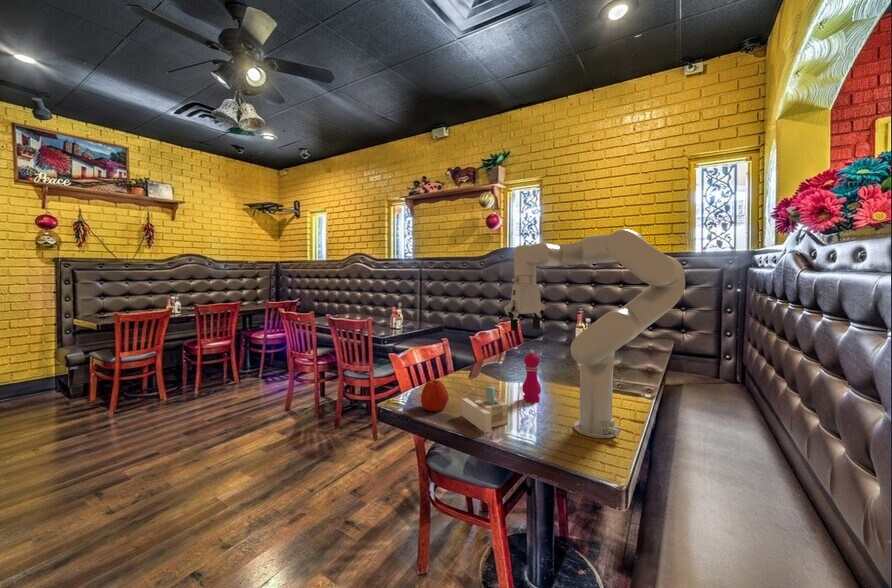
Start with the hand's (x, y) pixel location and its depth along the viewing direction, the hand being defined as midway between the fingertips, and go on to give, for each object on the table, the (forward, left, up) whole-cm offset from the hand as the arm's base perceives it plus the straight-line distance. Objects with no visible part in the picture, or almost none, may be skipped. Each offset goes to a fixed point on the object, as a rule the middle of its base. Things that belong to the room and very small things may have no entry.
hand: (525, 329), depth 131 cm
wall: (-1, +21, -30) cm, 36 cm away
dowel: (-2, +15, -28) cm, 32 cm away
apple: (+18, +27, -30) cm, 44 cm away
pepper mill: (+10, -11, -30) cm, 34 cm away
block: (-2, +15, -30) cm, 33 cm away
